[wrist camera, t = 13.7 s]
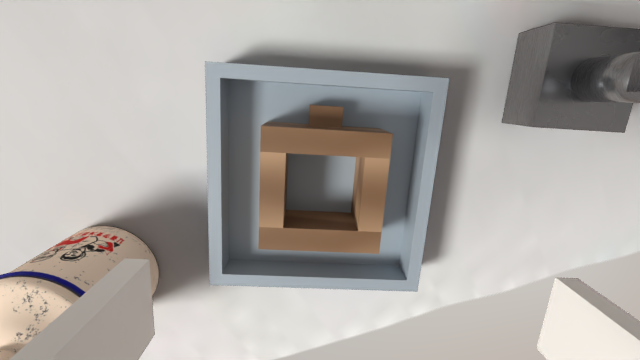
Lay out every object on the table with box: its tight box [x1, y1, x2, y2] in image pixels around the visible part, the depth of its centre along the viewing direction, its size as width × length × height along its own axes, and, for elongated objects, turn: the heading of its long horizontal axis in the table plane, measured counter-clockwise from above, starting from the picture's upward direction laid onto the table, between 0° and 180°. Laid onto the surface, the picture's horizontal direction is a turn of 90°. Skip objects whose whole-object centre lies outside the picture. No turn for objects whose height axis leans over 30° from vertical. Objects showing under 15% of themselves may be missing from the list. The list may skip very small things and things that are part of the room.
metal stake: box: [502, 23, 640, 133], centre depth 22 cm, size 7×7×10 cm
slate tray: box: [205, 61, 449, 292], centre depth 27 cm, size 17×17×4 cm
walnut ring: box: [258, 105, 393, 254], centre depth 25 cm, size 10×9×4 cm
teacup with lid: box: [0, 226, 159, 360], centre depth 24 cm, size 12×9×12 cm
